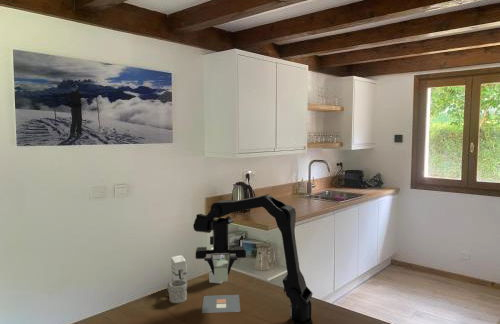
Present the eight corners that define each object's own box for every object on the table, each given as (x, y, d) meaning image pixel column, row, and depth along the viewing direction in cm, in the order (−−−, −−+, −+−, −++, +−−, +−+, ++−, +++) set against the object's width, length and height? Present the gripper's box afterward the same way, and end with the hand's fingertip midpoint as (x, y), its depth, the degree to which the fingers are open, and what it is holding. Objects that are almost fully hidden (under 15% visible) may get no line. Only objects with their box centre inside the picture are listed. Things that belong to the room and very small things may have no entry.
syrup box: (221, 283, 157) (221, 251, 156) (208, 282, 158) (208, 250, 157) (225, 278, 163) (225, 247, 162) (212, 277, 164) (212, 246, 163)
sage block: (227, 273, 142) (227, 260, 142) (227, 281, 134) (227, 268, 134) (214, 273, 142) (214, 260, 142) (214, 281, 134) (214, 268, 134)
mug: (190, 299, 143) (190, 283, 142) (176, 305, 138) (175, 288, 137) (175, 292, 149) (175, 276, 149) (161, 297, 145) (161, 280, 144)
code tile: (238, 295, 146) (238, 294, 146) (240, 312, 132) (240, 311, 132) (203, 296, 145) (203, 295, 145) (201, 313, 131) (201, 312, 131)
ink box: (171, 282, 158) (170, 256, 157) (182, 281, 160) (182, 254, 160) (175, 290, 150) (175, 262, 150) (187, 288, 153) (187, 260, 152)
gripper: (244, 228, 146) (244, 266, 147) (197, 229, 144) (197, 267, 145) (246, 235, 134) (246, 276, 136) (195, 236, 133) (195, 278, 134)
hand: (221, 274), depth 138 cm, fingers closed on sage block, 5 cm apart
